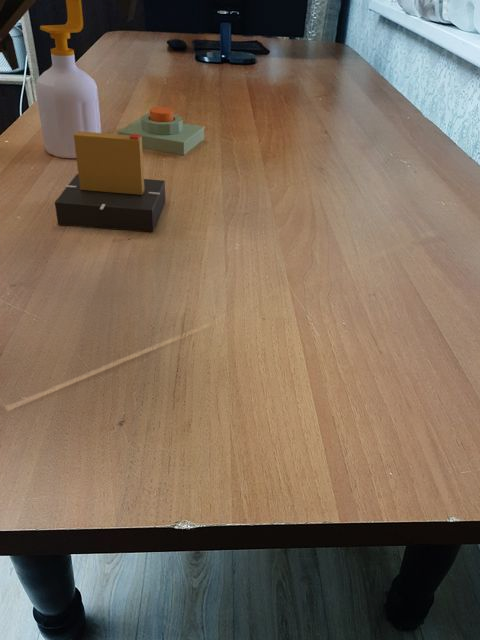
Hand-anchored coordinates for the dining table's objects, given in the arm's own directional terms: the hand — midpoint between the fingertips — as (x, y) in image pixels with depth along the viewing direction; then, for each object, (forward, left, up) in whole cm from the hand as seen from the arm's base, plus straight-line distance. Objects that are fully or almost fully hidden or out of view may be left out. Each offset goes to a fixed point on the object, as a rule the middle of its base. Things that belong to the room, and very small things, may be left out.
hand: (67, 32), depth 61 cm
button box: (-4, +33, -21) cm, 40 cm away
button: (-4, +33, -18) cm, 38 cm away
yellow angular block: (+2, +3, -18) cm, 19 cm away
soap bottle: (-15, +22, -22) cm, 34 cm away
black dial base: (+2, +3, -21) cm, 22 cm away
